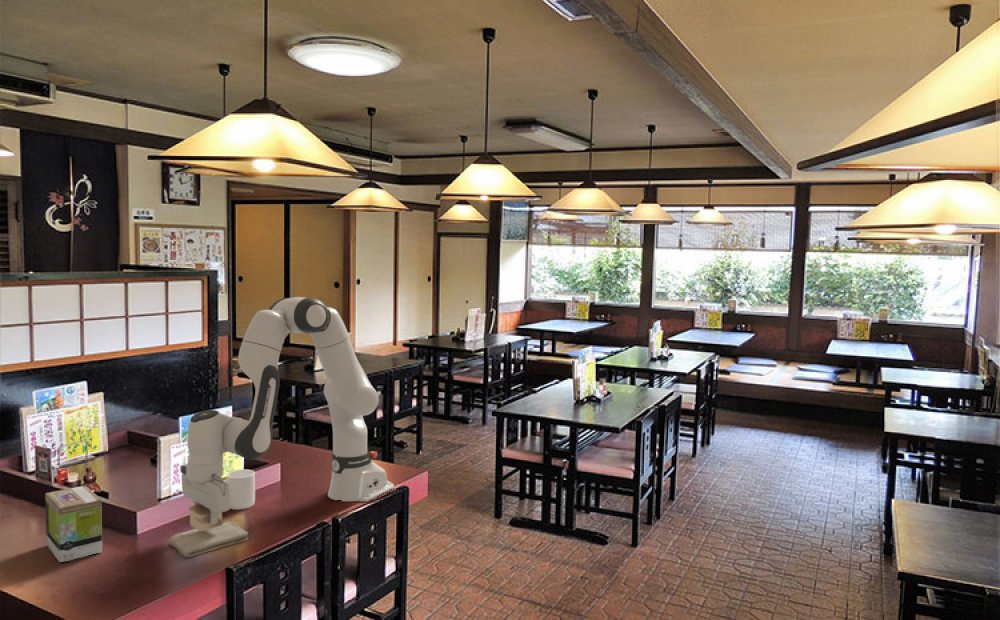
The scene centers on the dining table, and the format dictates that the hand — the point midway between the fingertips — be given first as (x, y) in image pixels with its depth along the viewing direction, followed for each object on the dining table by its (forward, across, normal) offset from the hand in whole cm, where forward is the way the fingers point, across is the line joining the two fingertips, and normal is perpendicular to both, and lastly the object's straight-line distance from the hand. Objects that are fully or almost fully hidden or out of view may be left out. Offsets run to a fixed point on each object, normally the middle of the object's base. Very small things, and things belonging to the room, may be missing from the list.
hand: (206, 519), depth 187 cm
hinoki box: (+2, 0, 0) cm, 2 cm away
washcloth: (+7, -1, 0) cm, 7 cm away
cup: (+6, +17, -18) cm, 25 cm away
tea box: (+6, +20, +26) cm, 33 cm away
